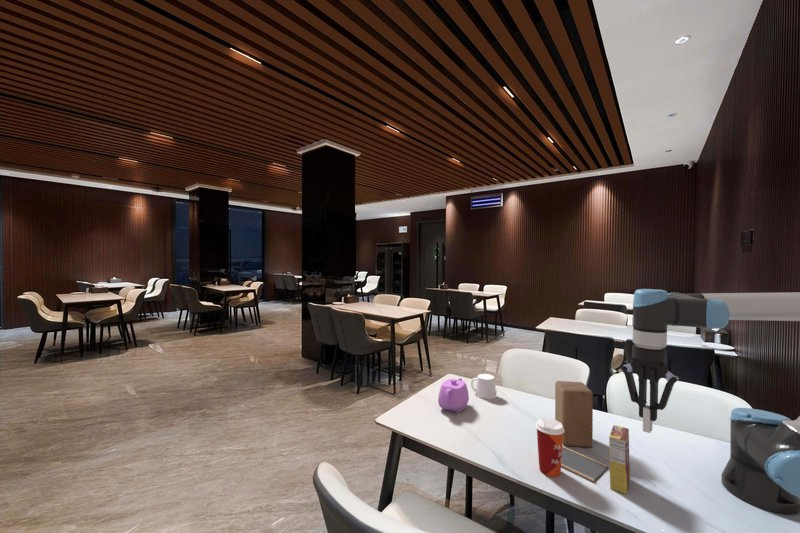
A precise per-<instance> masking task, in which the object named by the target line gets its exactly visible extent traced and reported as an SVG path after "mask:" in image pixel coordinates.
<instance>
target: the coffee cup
mask: <svg viewBox="0 0 800 533" xmlns="http://www.w3.org/2000/svg"><path fill="white" fill-rule="evenodd" d="M535 428H536V435H537V436H536V437H537V454H538V455H537V456H538V466H539V467H538V468H539V471H540V472H541V473H542V475H544V476H547V477H550V478H558V477H559V476H560V475H561V471H562V470H561V469H562V467H561V459H562V446H563V433H564V432H565V430H564V428H563V425H562V424H561V423H560V422H558V421H556V420H555V419H553V418H549V417H544V418H543V417H542V418H538V419H537V421H536V424H535Z"/></svg>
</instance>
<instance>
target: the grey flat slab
mask: <svg viewBox="0 0 800 533" xmlns="http://www.w3.org/2000/svg"><path fill="white" fill-rule="evenodd" d="M608 468H609V465H608V464H605V463H603V462H601V461H599V460H596V459H594V458H591V457H589V456H587V455H586V454H585V455H584V454H583V453H580V452H577V451H575V450H573V449H571V448H569V447H566V446H565V445H562V459H561V469H564V470H567V471H568V472H571V473H572V474H575V475H577V476H579V477H581V478H583V479H585V480H588V481H589V482H591V483H596V480H598V479H599V477H601V476H602V475H603V473H605V472H606V471H607V470H608Z"/></svg>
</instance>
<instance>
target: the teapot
mask: <svg viewBox="0 0 800 533" xmlns="http://www.w3.org/2000/svg"><path fill="white" fill-rule="evenodd" d="M437 399H438V400H437V402H438V406H439V407H440V408H441V410H442V409H443V410H442V411H448V410H450V411H454V412H456V413H455V414H461V413H462V410H464V409H466V407H467V406H468V403H469V399H470V396H469V390H468V386H467V383H466V381H463V378H460V377H459V378H458V379H456V378H448V379H446V380H445V381H443V382H442V383H441V385H440V388H439V393H438V398H437Z"/></svg>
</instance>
